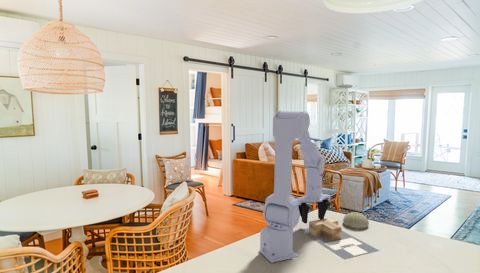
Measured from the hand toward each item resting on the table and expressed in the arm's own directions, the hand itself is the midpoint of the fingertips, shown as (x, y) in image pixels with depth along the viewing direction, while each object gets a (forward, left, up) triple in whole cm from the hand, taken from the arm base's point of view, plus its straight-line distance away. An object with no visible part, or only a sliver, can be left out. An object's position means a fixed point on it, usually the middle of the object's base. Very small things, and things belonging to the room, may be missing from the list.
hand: (312, 220), depth 112 cm
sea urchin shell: (+16, -5, -3) cm, 17 cm away
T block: (0, -9, -2) cm, 9 cm away
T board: (0, -13, -2) cm, 13 cm away
